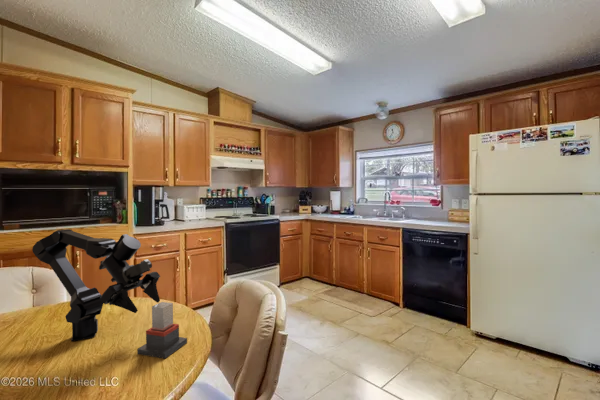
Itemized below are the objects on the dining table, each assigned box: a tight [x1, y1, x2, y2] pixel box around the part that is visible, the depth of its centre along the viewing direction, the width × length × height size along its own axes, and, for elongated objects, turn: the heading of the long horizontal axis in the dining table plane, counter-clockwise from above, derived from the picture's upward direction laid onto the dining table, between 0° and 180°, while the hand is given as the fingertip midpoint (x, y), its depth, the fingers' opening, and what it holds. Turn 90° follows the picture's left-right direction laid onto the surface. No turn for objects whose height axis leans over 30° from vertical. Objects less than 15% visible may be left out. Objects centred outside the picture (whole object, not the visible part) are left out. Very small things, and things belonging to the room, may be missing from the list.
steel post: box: [151, 301, 174, 332], centre depth 94 cm, size 4×4×12 cm
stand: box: [136, 323, 188, 359], centre depth 94 cm, size 10×10×6 cm
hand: (148, 306), depth 95 cm, fingers open, 9 cm apart
